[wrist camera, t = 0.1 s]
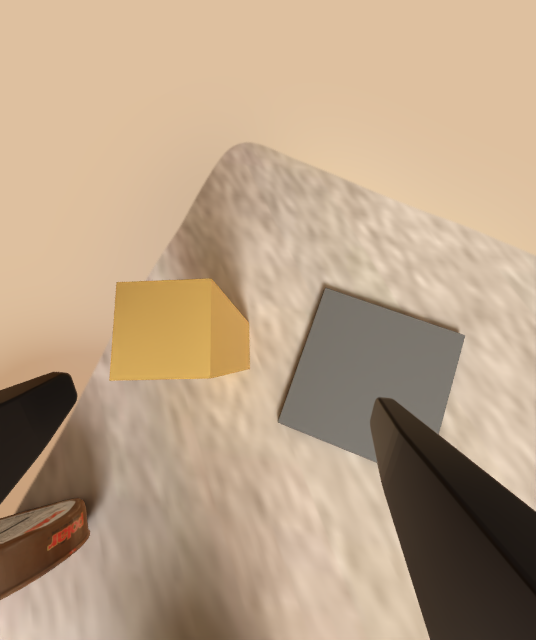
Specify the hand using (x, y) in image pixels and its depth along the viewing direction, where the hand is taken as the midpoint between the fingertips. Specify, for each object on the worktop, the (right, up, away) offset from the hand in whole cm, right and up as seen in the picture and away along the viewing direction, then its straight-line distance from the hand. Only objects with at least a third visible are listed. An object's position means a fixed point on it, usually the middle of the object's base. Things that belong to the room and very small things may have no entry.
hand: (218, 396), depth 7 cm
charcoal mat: (+10, -3, +14) cm, 17 cm away
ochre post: (-2, 0, +15) cm, 15 cm away
